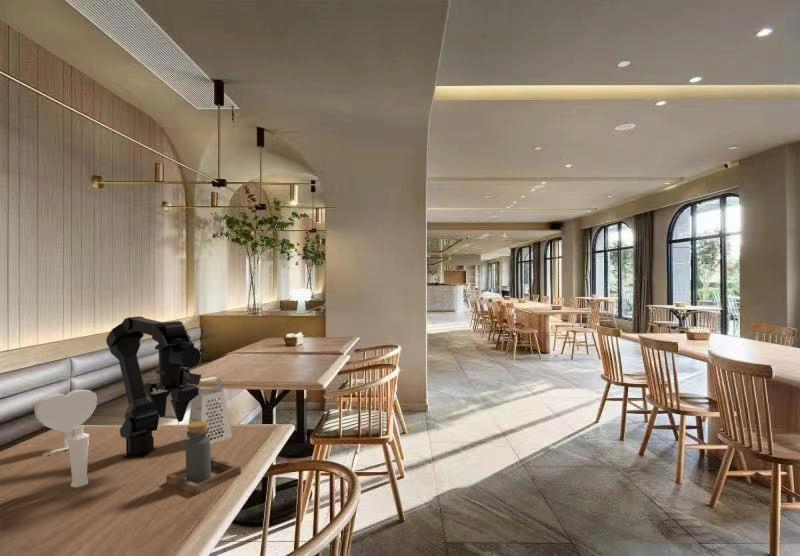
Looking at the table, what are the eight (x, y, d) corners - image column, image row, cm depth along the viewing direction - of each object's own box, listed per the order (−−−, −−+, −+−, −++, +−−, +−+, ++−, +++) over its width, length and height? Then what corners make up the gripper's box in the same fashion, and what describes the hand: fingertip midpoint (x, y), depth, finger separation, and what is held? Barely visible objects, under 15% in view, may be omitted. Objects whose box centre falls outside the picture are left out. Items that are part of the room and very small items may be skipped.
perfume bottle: (95, 480, 110) (94, 424, 111) (78, 488, 106) (77, 430, 106) (83, 478, 112) (82, 423, 112) (66, 486, 108) (65, 428, 108)
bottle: (209, 484, 107) (207, 426, 107) (184, 487, 105) (182, 428, 105) (212, 474, 113) (211, 419, 113) (189, 477, 111) (187, 421, 111)
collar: (166, 483, 108) (166, 475, 108) (211, 464, 119) (211, 457, 119) (195, 495, 101) (195, 487, 101) (240, 473, 112) (240, 466, 112)
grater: (231, 437, 140) (230, 378, 140) (200, 447, 132) (198, 384, 132) (217, 430, 147) (216, 374, 147) (186, 439, 139) (185, 379, 139)
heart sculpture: (93, 439, 142) (92, 386, 142) (99, 442, 138) (97, 388, 139) (34, 455, 129) (33, 397, 129) (38, 458, 126) (37, 399, 126)
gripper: (215, 362, 122) (216, 415, 122) (179, 358, 132) (180, 407, 132) (178, 370, 112) (179, 427, 112) (142, 364, 122) (143, 417, 122)
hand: (171, 419), depth 120 cm, fingers open, 9 cm apart
